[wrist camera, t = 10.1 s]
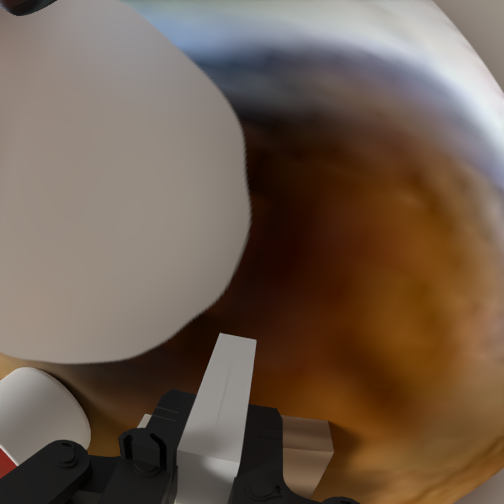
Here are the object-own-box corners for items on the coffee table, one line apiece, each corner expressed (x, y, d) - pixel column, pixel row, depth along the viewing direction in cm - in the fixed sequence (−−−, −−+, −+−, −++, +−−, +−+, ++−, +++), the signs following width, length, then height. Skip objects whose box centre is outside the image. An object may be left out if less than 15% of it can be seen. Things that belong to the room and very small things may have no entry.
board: (209, 398, 22) (197, 432, 18) (327, 417, 21) (334, 452, 17) (195, 502, 24) (187, 530, 20) (282, 515, 24) (281, 544, 20)
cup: (99, 396, 22) (36, 471, 12) (94, 460, 24) (51, 524, 14) (14, 343, 22) (-57, 389, 13) (20, 413, 24) (-31, 461, 14)
